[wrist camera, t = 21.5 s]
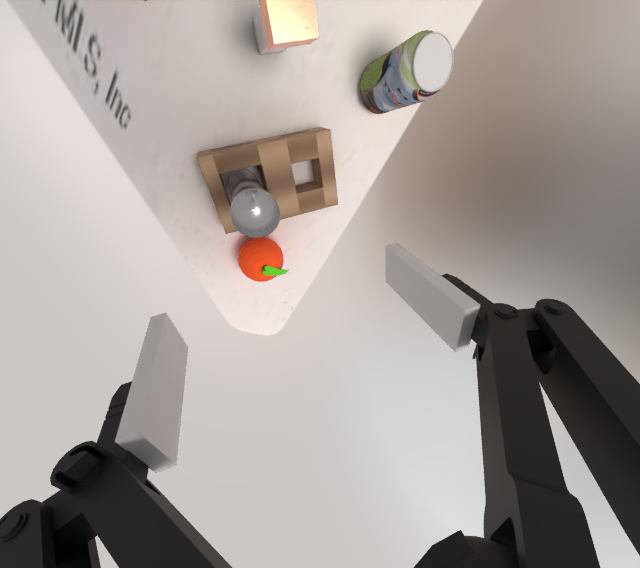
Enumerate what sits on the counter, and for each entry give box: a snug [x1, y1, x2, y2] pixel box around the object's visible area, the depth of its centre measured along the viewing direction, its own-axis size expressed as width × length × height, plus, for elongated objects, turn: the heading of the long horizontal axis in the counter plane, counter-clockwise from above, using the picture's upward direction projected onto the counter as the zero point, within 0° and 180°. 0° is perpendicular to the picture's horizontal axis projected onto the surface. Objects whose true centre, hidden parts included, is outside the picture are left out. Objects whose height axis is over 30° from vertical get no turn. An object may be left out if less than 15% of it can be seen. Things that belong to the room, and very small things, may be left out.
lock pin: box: [253, 0, 319, 55], centre depth 26 cm, size 4×4×12 cm
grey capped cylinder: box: [229, 169, 280, 238], centre depth 33 cm, size 5×5×14 cm
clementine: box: [238, 237, 289, 282], centre depth 42 cm, size 8×7×7 cm
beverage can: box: [360, 30, 453, 114], centre depth 32 cm, size 6×7×12 cm
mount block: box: [197, 128, 338, 234], centre depth 38 cm, size 10×17×4 cm, turn 99°
